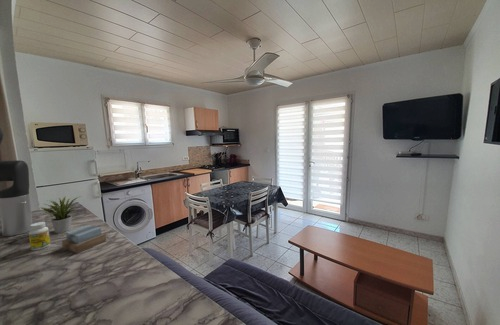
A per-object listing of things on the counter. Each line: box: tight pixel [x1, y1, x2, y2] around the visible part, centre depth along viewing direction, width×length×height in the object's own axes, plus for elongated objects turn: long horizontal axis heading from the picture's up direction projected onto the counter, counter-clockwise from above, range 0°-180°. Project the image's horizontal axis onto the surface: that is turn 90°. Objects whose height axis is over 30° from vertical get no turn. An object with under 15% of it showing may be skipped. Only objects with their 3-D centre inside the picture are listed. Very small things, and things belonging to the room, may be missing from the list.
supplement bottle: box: [28, 221, 51, 251], centre depth 77 cm, size 5×5×10 cm
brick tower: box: [61, 224, 107, 254], centre depth 80 cm, size 10×10×6 cm
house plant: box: [40, 196, 82, 234], centre depth 93 cm, size 14×14×16 cm
